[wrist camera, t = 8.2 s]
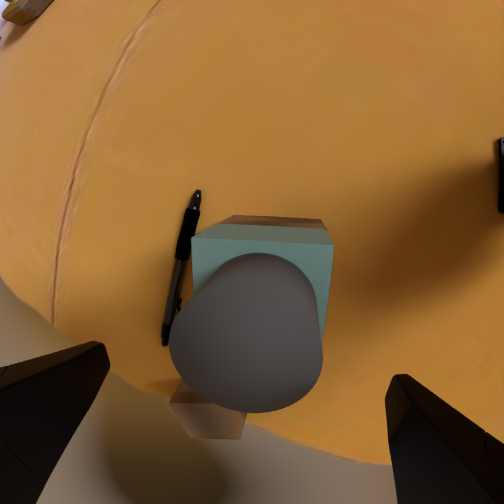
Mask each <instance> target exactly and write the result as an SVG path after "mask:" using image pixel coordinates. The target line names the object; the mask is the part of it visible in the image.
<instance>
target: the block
mask: <svg viewBox="0 0 504 504" xmlns="http://www.w3.org/2000/svg"><path fill="white" fill-rule="evenodd" d="M169 403H170V405H171V407H172V409H173V410H174V412H175V414H176V415H177V417H178V419H179V420H180V422H181V423H182V425H183V427H184V428H185V429H186V431H187V433H188V434H189V436H190V437H191V438H205V439H240V438H241V434H242V430H243V426H244V423H245V419H246V415H247V412H239V411H234V410H230V409H227V408H224V407H221V406H218V405H216V404H214V403H212V402H210V401H208V400H207V399H205V398H203V397H202V396H200V395H199V394H198V393H196V392H195V391H194V390H193V389H192V388H191V387H190V386H189V385H188V384H187V383H186V382H185V381H184V380H183V379H182V381H181V383H180V385H179V386H178V388H177V390H176V391H175V393H174V395H173V397H172V398H171V400H170V402H169Z"/></svg>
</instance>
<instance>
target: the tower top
mask: <svg viewBox="0 0 504 504" xmlns="http://www.w3.org/2000/svg"><path fill="white" fill-rule="evenodd" d="M191 245H192V270H193V289H194V295H195V294H196V293H197V291H198V290H199V289H200V288H201V287H202V286H203V285H204V284H205V283H206V281H207V280H208V279H209V278H210V277H211V276H212V275H213V274H214V273H215V272H216V270H217V269H218V268H219V267H220V266H221V265H223V264H224V263H225V262H227V261H228V260H230V259H232V258H234V257H237V256H239V255H243V254H247V253H268V254H273V255H277V256H279V257H282V258H284V259H286V260H288V261H290V262H292V263H293V264H294V265H296V266H297V267H298V268H299V269H300V270H301V271H302V272H303V273H304V274H305V275H306V276H307V278H308V279H309V281H310V283H311V284H312V287H313V289H314V292H315V296H316V301H317V309H318V317H319V326H320V334H321V343H322V338H323V332H324V326H325V319H326V312H327V305H328V297H329V289H330V281H331V272H332V262H333V252H334V244H333V243H332V241H331V239H330V237H329V236H328V234H327V232H326V231H325V229H316V228H299V227H281V226H260V225H237V224H215V225H214V226H212V227H210V228H208V229H206V230H204V231H203V232H201V233H199V234H197V235H195V236H193V237H192V238H191Z"/></svg>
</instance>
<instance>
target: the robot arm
mask: <svg viewBox="0 0 504 504" xmlns="http://www.w3.org/2000/svg"><path fill="white" fill-rule="evenodd" d="M503 142H504V137H502V138H499V169H500V175H499V202H498V210H499V212H500V213H501V214H504V144H503ZM109 369H110V361H109V357H108V354H107V351H106V347H105V345H104V344H103V343H100V342H97V341H90V342H87V343H84V344H81V345H78V346H74V347H71V348H68V349H65V350H61V351H58V352H54V353H51V354H48V355H44V356H40V357H37V358H33V359H30V360H26V361H23V362H19V363H15V364H12V365H9V366H4V367H0V504H36V502H37V500H38V499H39V497H40V495H41V493H42V491H43V489H44V487H45V485H46V483H47V481H48V479H49V477H50V475H51V473H52V472H53V469H54V468H55V466H56V464H57V462H58V461H59V459H60V457H61V455H62V454H63V452H64V450H65V448H66V446H67V445H68V443H69V441H70V440H71V438H72V436H73V435H74V433H75V431H76V430H77V428H78V426H79V425H80V423H81V421H82V419H83V418H84V416H85V415H86V413H87V411H88V410H89V408H90V407H91V405H92V403H93V402H94V399H95V398H96V396H97V393H98V391H99V389H100V387H101V385H102V383H103V381H104V379H105V377H106V375H107V373H108V371H109ZM385 408H386V418H387V431H388V443H389V450H390V455H391V461H392V467H393V473H394V480H395V486H396V495H397V503H398V504H504V444H503V443H502V442H500V441H499V440H497V439H496V438H495V437H493V436H492V435H490V434H489V433H488V432H486V433H485V430H483V429H482V428H481V427H479V426H478V425H476V424H475V423H474V422H472V421H471V420H470V419H468V418H467V417H465V416H464V415H463V414H461V413H460V412H459V411H457V410H456V409H454V408H453V407H452V406H450V405H449V404H448V403H446V402H445V401H444V400H442V399H441V398H439V397H438V396H437V395H435V394H434V393H433V392H431V391H430V390H429V389H427V388H426V387H424V386H423V385H422V384H420V383H419V382H418V381H416V380H415V379H414V378H412V377H411V376H409V375H408V374H396V375H394V376H393V378H392V380H391V383H390V385H389V388H388V390H387V393H386V396H385Z"/></svg>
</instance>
